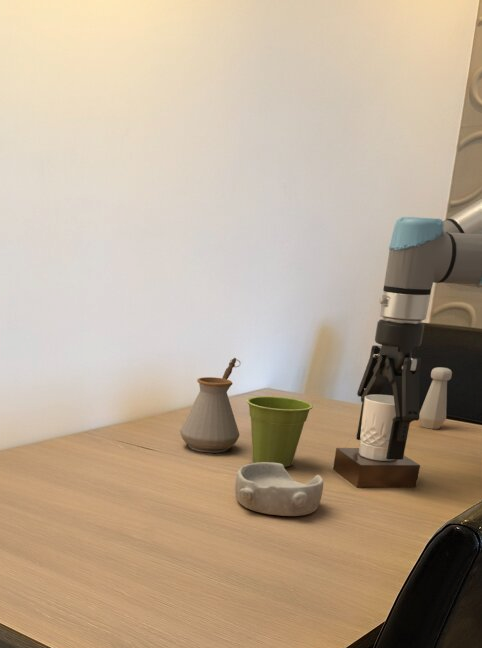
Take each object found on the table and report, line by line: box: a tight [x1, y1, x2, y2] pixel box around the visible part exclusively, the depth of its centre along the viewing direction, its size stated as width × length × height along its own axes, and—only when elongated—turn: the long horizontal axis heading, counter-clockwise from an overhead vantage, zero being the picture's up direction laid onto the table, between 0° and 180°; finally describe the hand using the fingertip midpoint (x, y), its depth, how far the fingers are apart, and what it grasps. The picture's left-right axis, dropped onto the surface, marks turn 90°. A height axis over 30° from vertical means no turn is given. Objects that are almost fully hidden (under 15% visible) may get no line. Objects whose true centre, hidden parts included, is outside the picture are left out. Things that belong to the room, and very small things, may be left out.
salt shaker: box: [419, 366, 453, 430], centre depth 184 cm, size 6×6×13 cm
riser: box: [332, 447, 421, 489], centre depth 147 cm, size 11×11×4 cm
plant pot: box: [246, 395, 314, 469], centre depth 150 cm, size 12×12×11 cm
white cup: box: [358, 394, 396, 461], centre depth 144 cm, size 8×8×10 cm
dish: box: [234, 462, 324, 517], centre depth 130 cm, size 14×14×5 cm
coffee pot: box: [179, 357, 242, 453], centre depth 161 cm, size 21×12×15 cm, turn 160°
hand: (378, 449), depth 145 cm, fingers open, 12 cm apart
